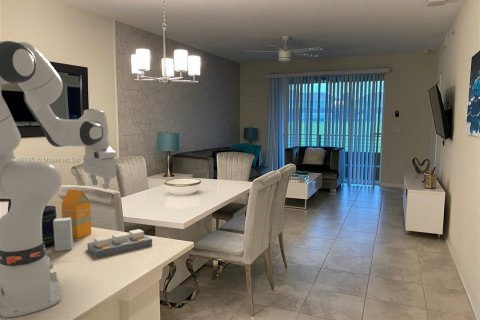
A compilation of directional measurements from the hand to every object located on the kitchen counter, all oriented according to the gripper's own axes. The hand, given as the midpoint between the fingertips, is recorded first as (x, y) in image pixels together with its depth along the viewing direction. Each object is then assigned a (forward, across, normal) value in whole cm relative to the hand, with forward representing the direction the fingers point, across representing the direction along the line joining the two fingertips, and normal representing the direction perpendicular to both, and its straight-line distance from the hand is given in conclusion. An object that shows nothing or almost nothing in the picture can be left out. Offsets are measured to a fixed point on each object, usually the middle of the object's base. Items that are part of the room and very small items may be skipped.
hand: (100, 186), depth 142 cm
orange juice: (+25, -22, -2) cm, 33 cm away
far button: (+23, +6, +10) cm, 26 cm away
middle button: (+22, +6, +4) cm, 23 cm away
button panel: (+24, +6, +3) cm, 25 cm away
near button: (+22, +4, -3) cm, 23 cm away
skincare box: (+24, -8, -13) cm, 29 cm away
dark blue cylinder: (+24, -19, -16) cm, 35 cm away
